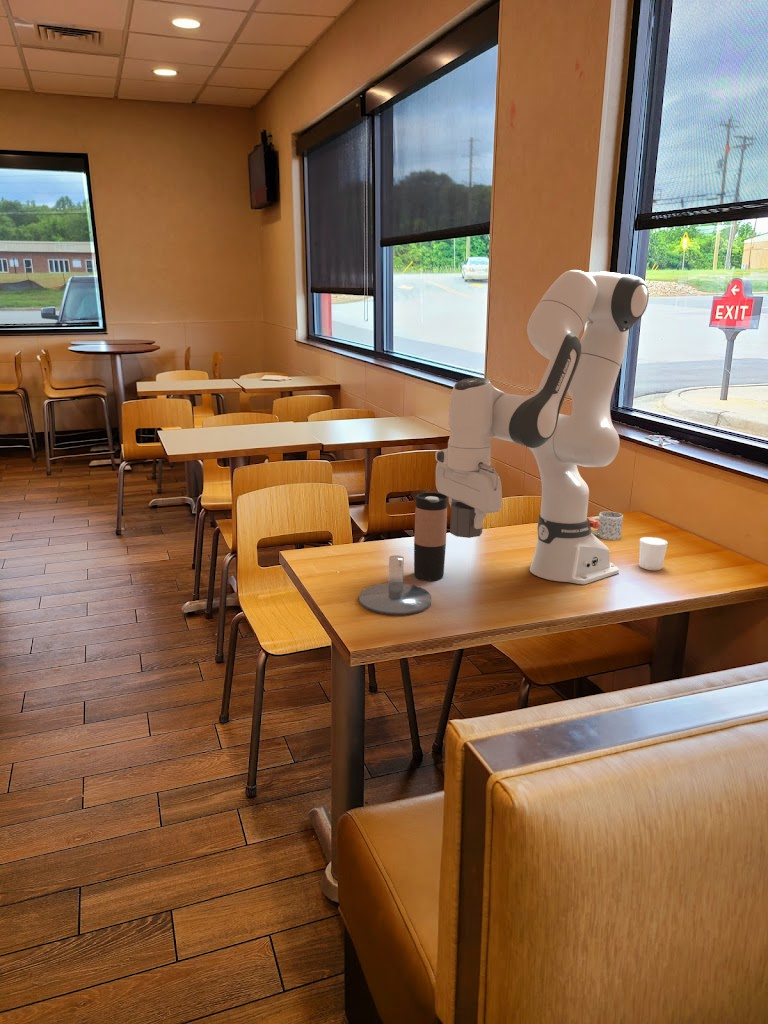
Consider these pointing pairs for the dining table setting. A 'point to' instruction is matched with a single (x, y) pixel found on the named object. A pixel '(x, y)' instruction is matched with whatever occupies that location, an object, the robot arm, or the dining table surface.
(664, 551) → the white short tapered cylinder
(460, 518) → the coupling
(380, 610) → the grey metal round base
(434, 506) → the travel mug
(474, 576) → the dining table surface
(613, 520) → the mug
